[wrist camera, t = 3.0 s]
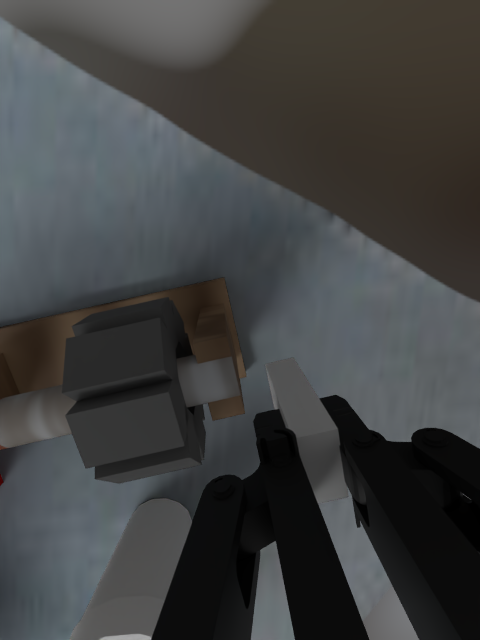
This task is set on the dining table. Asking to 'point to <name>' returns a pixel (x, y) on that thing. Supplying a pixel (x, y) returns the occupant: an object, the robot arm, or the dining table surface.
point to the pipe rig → (51, 332)
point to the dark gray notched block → (131, 393)
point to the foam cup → (137, 575)
